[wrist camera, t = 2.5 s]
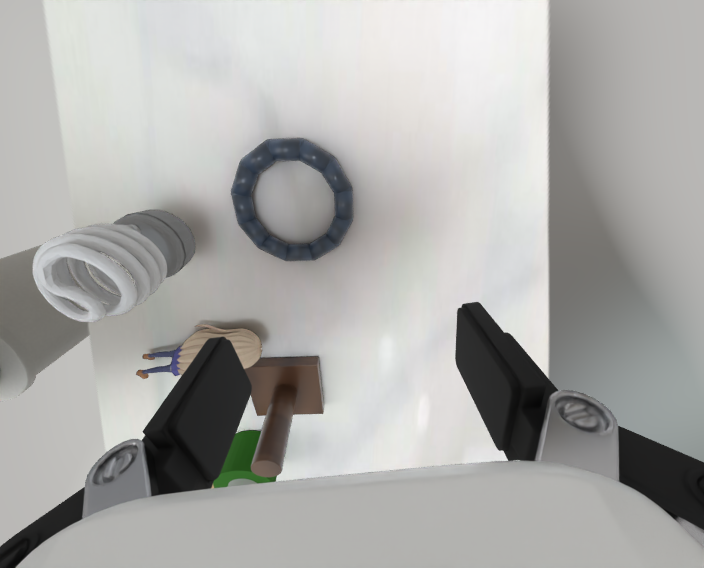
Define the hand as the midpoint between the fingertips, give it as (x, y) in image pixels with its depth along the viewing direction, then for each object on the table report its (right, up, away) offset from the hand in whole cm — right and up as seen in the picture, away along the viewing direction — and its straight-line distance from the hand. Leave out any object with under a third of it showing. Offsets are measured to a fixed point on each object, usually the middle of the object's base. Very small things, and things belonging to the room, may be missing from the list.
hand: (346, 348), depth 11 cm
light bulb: (-16, +8, +14) cm, 23 cm away
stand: (-8, -10, +24) cm, 27 cm away
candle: (-15, -23, +31) cm, 41 cm away
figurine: (-17, -4, +21) cm, 27 cm away
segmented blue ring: (-5, +10, +12) cm, 16 cm away
